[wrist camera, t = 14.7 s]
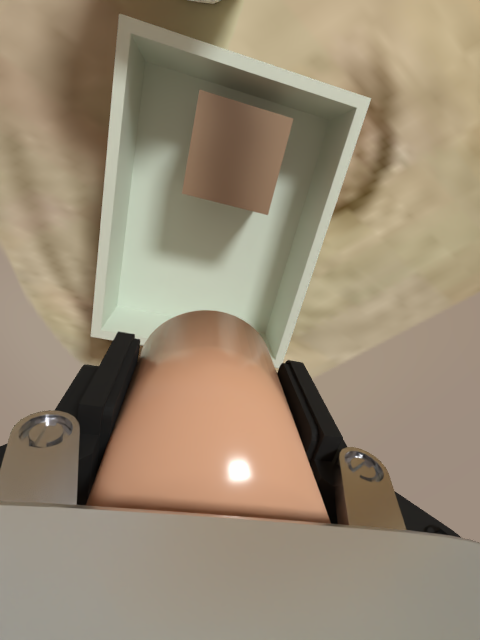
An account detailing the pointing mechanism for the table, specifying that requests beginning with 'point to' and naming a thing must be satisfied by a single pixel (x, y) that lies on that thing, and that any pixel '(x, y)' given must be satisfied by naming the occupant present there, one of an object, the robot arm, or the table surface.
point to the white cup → (206, 1)
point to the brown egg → (207, 429)
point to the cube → (235, 153)
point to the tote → (203, 215)
